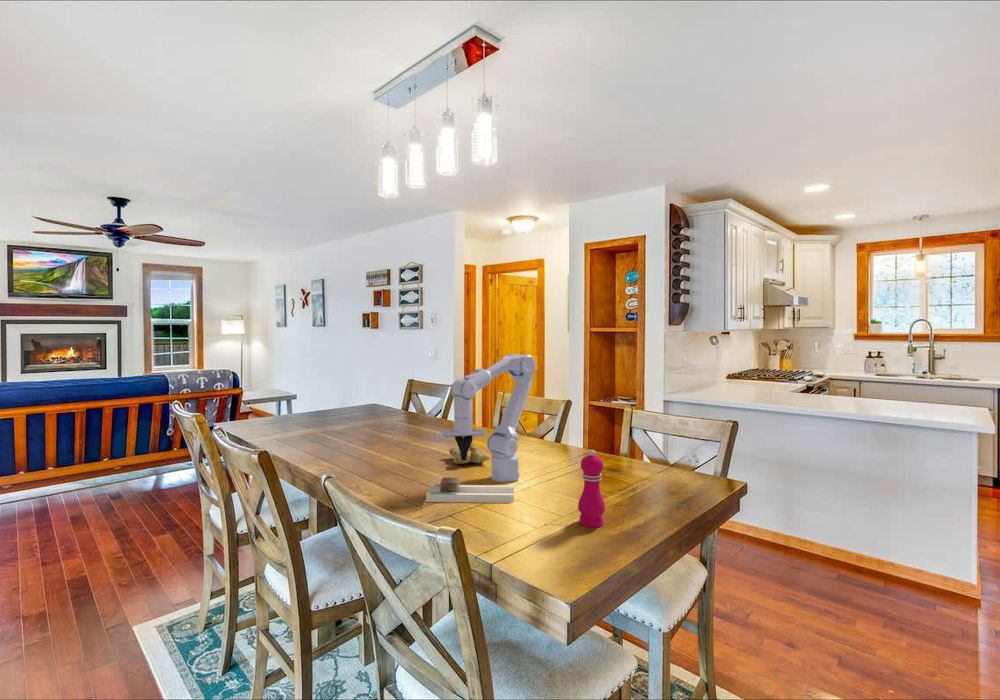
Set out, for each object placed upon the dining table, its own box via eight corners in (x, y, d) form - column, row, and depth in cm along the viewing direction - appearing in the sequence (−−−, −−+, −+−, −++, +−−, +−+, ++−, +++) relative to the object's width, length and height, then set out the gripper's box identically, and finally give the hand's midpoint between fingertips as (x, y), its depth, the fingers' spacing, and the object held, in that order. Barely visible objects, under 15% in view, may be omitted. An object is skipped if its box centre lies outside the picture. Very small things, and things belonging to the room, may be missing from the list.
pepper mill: (586, 515, 141) (587, 445, 140) (609, 522, 137) (610, 449, 135) (572, 523, 136) (573, 450, 134) (596, 530, 131) (597, 454, 130)
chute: (513, 494, 159) (513, 484, 158) (513, 505, 149) (513, 495, 148) (431, 493, 159) (431, 483, 159) (425, 504, 149) (425, 494, 149)
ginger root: (490, 465, 186) (485, 444, 186) (448, 475, 187) (443, 454, 186) (492, 455, 202) (487, 436, 202) (453, 465, 202) (448, 445, 202)
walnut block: (458, 493, 157) (458, 477, 156) (456, 498, 152) (456, 482, 151) (442, 493, 157) (442, 477, 156) (440, 498, 152) (440, 482, 151)
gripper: (484, 414, 165) (484, 455, 166) (439, 415, 162) (439, 457, 163) (487, 418, 158) (487, 460, 159) (441, 419, 155) (441, 463, 156)
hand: (463, 459), depth 160 cm, fingers closed
